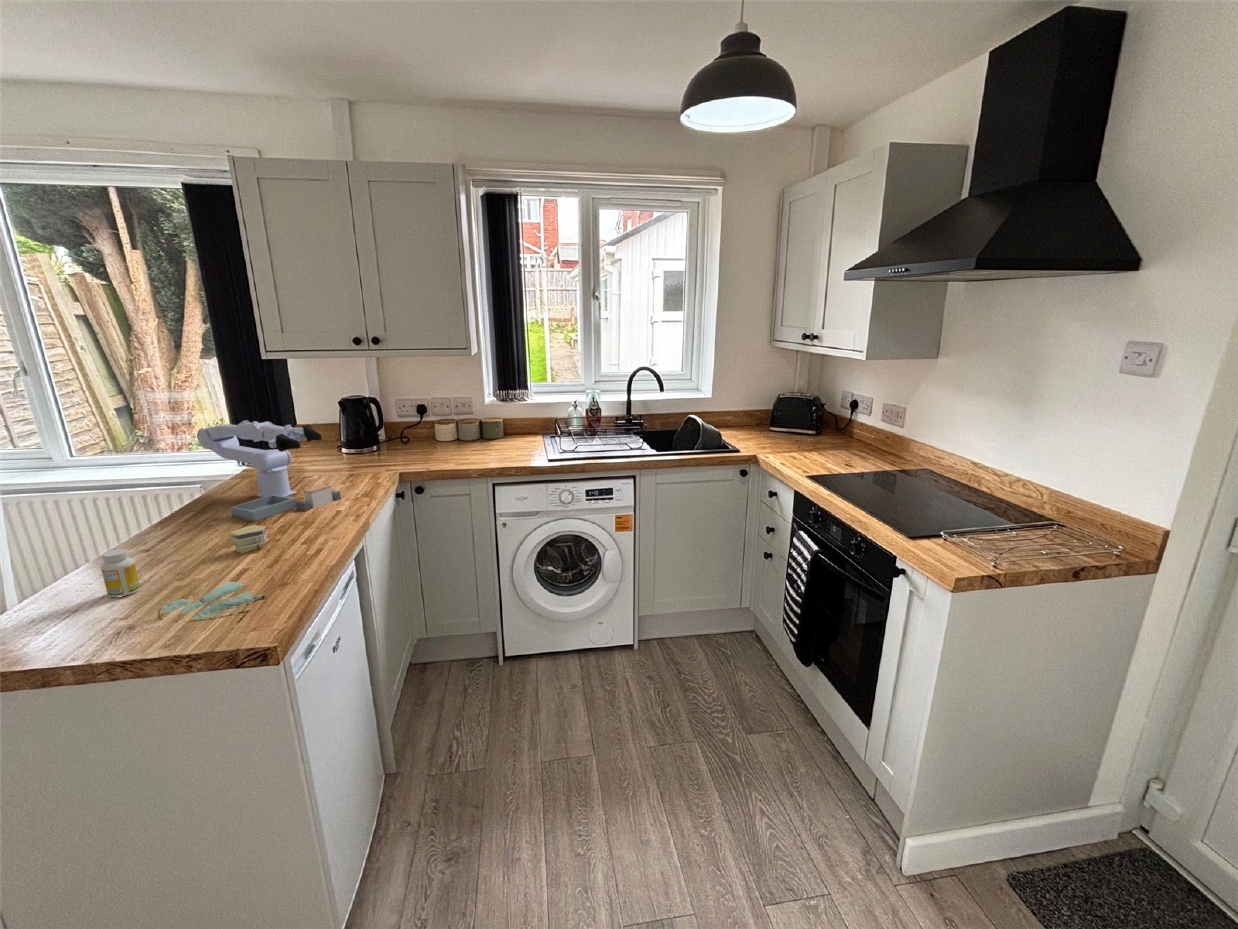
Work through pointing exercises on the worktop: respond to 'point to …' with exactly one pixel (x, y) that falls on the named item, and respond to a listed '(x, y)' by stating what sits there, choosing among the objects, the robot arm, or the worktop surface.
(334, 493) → the grey blocks
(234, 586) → the pale green flat pieces
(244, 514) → the tray
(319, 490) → the pink and gray block
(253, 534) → the beige layered stack
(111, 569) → the supplement bottle
